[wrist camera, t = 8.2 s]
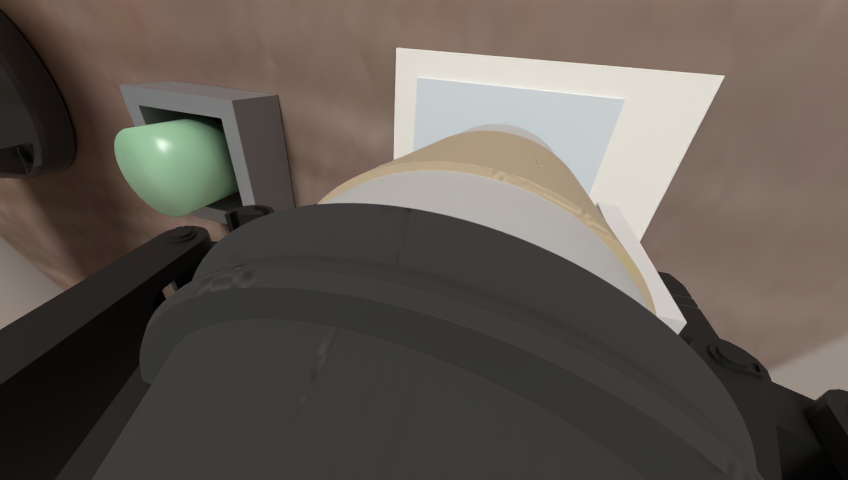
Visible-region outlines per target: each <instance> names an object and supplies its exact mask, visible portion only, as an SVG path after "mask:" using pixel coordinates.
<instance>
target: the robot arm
mask: <svg viewBox="0 0 848 480" xmlns="http://www.w3.org/2000/svg"><path fill="white" fill-rule="evenodd" d="M74 153H75V141H74V134H73V129H72V126H71V122H70V119H69V116H68V113H67V111H66V108H65V106H64V103H63V101H62V99H61V97H60V94H59V92H58V90H57V88H56V87H55V85H54V83H53V81H52V79H51V77H50V76H49V74H48V72H47V71H46V69H45V67H44V66H43V64H42V63H41V61H40V60H39V58H38V57H37V55H36V54H35V52H34V51H33V50H32V48H31V47H30V46H29V44H28V43H27V42H26V40H25V39H24V38H23V36H22V35H21V34H20V33H19V31H18V30H17V29H16V28H15V27H14V25H13V24H12V23H11V22H10V21H9V20H8V19H7V18H6V17H5V15H4V14H3V13H2V12H1V11H0V178H31V177H37V176H41V175H46V174H50V173H54V172H59V171H62V170H65V169H66V168H68V167H69V166H70V164H71V163H72V161H73V158H74ZM381 166H382V165H381ZM315 205H317V204H315ZM596 208H597V209H598V211H599V212H600V213H601V215H602V216H603V218H604V219H605V221H606V222H607V224H608V225H609V226H610V228H611V229H612V231H613V232H614V234H615V235H616V237H617V238H618V240H619V241H620V242H621V244H622V245H623V247H624V248H625V250H626V251H627V253H628V254H629V256H630V257H631V258H632V260H633V261H634V263H635V264H636V266H637V268H638V269H639V271H640V272H641V274H642V276H643V278H644V280H645V282H646V284H647V286H648V289H649V291H650V294H651V296H652V299H653V303H654V306H655V310H656V315H657V317H658V318H659V319H660V320H662V321H663V322H664V323H665V324H666V325H668V326H669V327H670V328H671V329H672V330H673V331H674V332H675V333H677V334H678V335H679V336H680V337H681V338H682V339H683V340H684V341H685V342H686V343H687V344H688V345H689V346H690V347H691V348H692V349H693V350H694V351H695V352H696V353H697V354H698V355H699V356H700V357H701V358H702V360H703V361H704V362H705V363H706V364H707V365H708V367H709V368H710V369H711V370H712V371H713V372H714V374H715V375H716V376H717V378H718V379H719V380H720V382H721V383H722V384H723V386H724V387H725V389H726V390H727V392H728V393H729V395H730V396H731V398H732V400H733V401H734V403H735V405H736V406H737V408H738V410H739V412H740V414H741V416H742V418H743V420H744V422H745V425H746V427H747V430H748V432H749V435H750V438H751V441H752V445H753V449H754V453H755V459H756V467H757V471H758V472H759V473H760V475H761V476H762V477H763V479H764V480H848V391H844V390H840V389H838V390H828V391H827V392H826V393H824V394H823V395H822V396H821V397H819V398H818V399H817V400H816V401H815V400H812V399H810V398H808V397H806V396H803V395H801V394H799V393H797V392H794V391H792V390H790V389H787V388H785V387H783V386H781V385H778V384H776V383H774V382H772V381H771V378H770V376H769V373H768V371H767V370H766V369H765V367H764V366H763V365H762V364H761V363H760V362H759V361H758V360H757V359H756V358H754V357H753V356H752V355H750V354H749V353H748V352H746V351H745V350H743V349H741V348H739V347H738V346H736V345H734V344H732V343H730V342H727V341H725V340H722V339H720V338H719V337H718V336H717V334H716V333H715V331H714V330H713V328H712V327H711V325H710V324H709V322H708V321H707V319H706V318H705V316H704V315H703V313H702V312H701V310H700V309H698V306H697V304H696V303H695V301H694V300H693V299H691V296H690V294H689V293H688V291H687V290H686V288H685V287H684V285H683V284H681V283H680V282H679V281H678V280H676V279H675V278H674V277H673V276H671V275H670V274H668V273H663V272H658V271H656V269H655V268H654V266H653V264H652V263H651V261H650V259H649V258H648V256H647V254H646V252H645V251H644V249H643V247H642V246H641V244H640V242H639V241H638V239H637V237H636V236H635V234H634V232H633V231H632V229H631V227H630V225H629V224H628V222H627V220H626V219H625V217H624V215H623V214H622V212H621V210H620V209H619V207H618V206H615V205H609V204H603V203H598V202H597V205H596ZM271 213H275V211H274V210H273V209H272V208H271V207H268V206H265V205H247V206H242V207H238V208H235V209H232V210H230V211H229V212H227V213H226V214H224V215H225V218H226V222H227V225H228V228H229V232H232V231H234V230H235V229H237V228H238V227H240V226H242V225H244V224H246V223H248V222H250V221H252V220H255V219H257V218H259V217H262V216H265V215H268V214H271ZM216 243H218V242H211V239H210V236H209V233H208V231H207V230H206V229H205V228H202V227H198V226H184V227H183V226H182V227H177V228H175V229H172V230H169V231H167V232H164V233H162V234H160V235H158V236H157V237H155V238H153V239H152V240H150V241H148V242H147V243H145V244H143V245H142V246H140V247H138V248H137V249H135V250H133V251H132V252H130V253H128V254H127V255H125V256H123V257H122V258H120V259H118V260H116V261H115V262H113V263H111V264H110V265H108V266H106V267H105V268H103V269H101V270H100V271H98V272H96V273H95V274H93V275H91V276H90V277H88V278H86V279H85V280H83V281H81V282H80V283H78V284H76V285H75V286H73V287H71V288H70V289H68V290H66V291H64V292H63V293H61V294H60V295H58V296H56V297H55V298H53V299H51V300H49V301H48V302H46V303H44V304H43V305H41V306H39V307H38V308H36V309H34V310H33V311H31V312H29V313H28V314H26V315H24V316H23V317H21V318H19V319H18V320H16V321H14V322H12V323H11V324H9V325H7V326H6V327H4V328H2V329H1V330H0V480H92V478H93V477H94V475H95V474H96V472H97V470H98V469H99V467H100V466H101V464H102V462H103V461H104V459H105V458H106V456H107V455H108V453H109V451H110V450H111V448H112V447H113V445H114V443H115V442H116V440H117V439H118V437H119V435H120V434H121V432H122V431H123V429H124V428H125V426H126V424H127V423H128V421H129V420H130V418H131V416H132V415H133V413H134V412H135V410H136V408H137V407H138V405H139V404H140V402H141V401H142V399H143V397H144V396H145V394H146V393H147V391H148V389H149V388H150V386H151V384H149V383H147V382H144V381H142V376H141V372H140V362H139V360H140V349H141V344H142V340H143V337H144V334H145V331H146V327H147V325H148V323H149V320H150V319H151V317H152V315H153V314H154V312H155V311H156V309H157V308H158V307H159V306H160V305H161V304H162V303H163V302H164V301H165V300H166V298H165V296H164V294H163V292H162V289H164V288H165V287H166V286H167V285H169V284H170V283H171V285H172V287H173V289H174V292H176V291H177V290H179V289H180V288H182V287H183V286H184V285H186V284H188V283H189V282H191V281H192V279H193V277H194V274H195V272H196V270H197V268H198V267H199V265H200V263H201V261H202V260H203V258H204V257H205V256H206V254H207V253H208V252H209V251H210V250H211V249H212V247H213V246H214V245H215V244H216Z"/></svg>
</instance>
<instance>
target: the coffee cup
mask: <svg viewBox="0 0 848 480" xmlns="http://www.w3.org/2000/svg"><path fill="white" fill-rule="evenodd" d="M139 362H140V372H141V376H142V381H144V382H147V383H149V384H151V386H150V388H149V389H148V391H147V393H146V394H145V396H144V397H143V399H142V401H141V402H140V404H139V405H138V407H137V408H136V410H135V412H134V413H133V415H132V416H131V418H130V420H129V421H128V423H127V424H126V426H125V428H124V429H123V431H122V432H121V434H120V435H119V437H118V439H117V440H116V442H115V443H114V445H113V447H112V448H111V450H110V451H109V453H108V455H107V456H106V458H105V459H104V461H103V462H102V464H101V466H100V467H99V469H98V470H97V472H96V474H95V475H94V477H93V478H92V480H764V479H763V477H762V476H761V475H760V473H759V472H758V471H757V467H756V459H755V453H754V449H753V445H752V441H751V438H750V435H749V432H748V430H747V427H746V425H745V422H744V420H743V418H742V416H741V414H740V412H739V410H738V408H737V406H736V405H735V403H734V401H733V400H732V398H731V396H730V395H729V393H728V392H727V390H726V389H725V387H724V386H723V384H722V383H721V382H720V380H719V379H718V378H717V376H716V375H715V374H714V372H713V371H712V370H711V369H710V368H709V367H708V365H707V364H706V363H705V362H704V361H703V360H702V358H701V357H700V356H699V355H698V354H697V353H696V352H695V351H694V350H693V349H692V348H691V347H690V346H689V345H688V344H687V343H686V342H685V341H684V340H683V339H682V338H681V337H680V336H679V335H678V334H677V333H675V332H674V331H673V330H672V329H671V328H670V327H669V326H668V325H666V324H665V323H664V322H663V321H662V320H660V319H659V318H658V317H657V315H656V310H655V306H654V303H653V299H652V296H651V294H650V291H649V289H648V286H647V284H646V282H645V280H644V278H643V276H642V274H641V272H640V271H639V269H638V268H637V266H636V264H635V263H634V261H633V260H632V258H631V257H630V256H629V254H628V253H627V251H626V250H625V248H624V247H623V245H622V244H621V242H620V241H619V240H618V238H617V237H616V235H615V234H614V232H613V231H612V229H611V228H610V226H609V225H608V224H607V222H606V221H605V219H604V218H603V216H602V215H601V213H600V212H599V211H598V209H597V208H596V206H595V205H594V203H593V202H592V200H591V199H590V197H589V196H588V195H587V193H586V192H585V190H584V189H583V187H582V186H581V184H580V183H579V181H578V180H577V179H576V177H575V176H574V174H573V173H572V172H571V170H570V169H569V168H568V167H567V166H566V164H565V163H564V162H563V161H562V160H561V159H559V158H558V157H557V156H556V155H555V153H554V152H553V150H552V149H551V148H550V147H549V146H548V145H547V144H546V143H545V142H544V141H543V140H542V139H541V138H539V137H538V136H536V135H535V134H533V133H531V132H530V131H527V130H525V129H523V128H520V127H517V126H513V125H507V124H486V125H480V126H476V127H473V128H470V129H468V130H465V131H463V132H461V133H459V134H456V135H452V136H450V137H447V138H444V139H442V140H439V141H437V142H435V143H432V144H430V145H428V146H426V147H423V148H421V149H419V150H416V151H414V152H412V153H409V154H407V155H405V156H402V157H400V158H398V159H396V160H393V161H391V162H389V163H386V164H384V165H382V166H379V167H377V168H375V169H372V170H370V171H368V172H366V173H363V174H361V175H359V176H356V177H354V178H352V179H350V180H348V181H347V182H345V183H343V184H341V185H340V186H338V187H337V188H335V189H334V190H333V191H331V192H330V193H329V194H328V195H326V196H325V197H324V198H323V199H322V200H321V201H320V202H319V203H318V204H317V205H308V206H301V207H296V208H291V209H286V210H281V211H278V212H275V213H271V214H268V215H265V216H262V217H259V218H257V219H255V220H252V221H250V222H248V223H246V224H244V225H242V226H240V227H238V228H237V229H235V230H234V231H232V232H230V233H229V234H227V235H226V236H225V237H224V238H222V239H221V240H220V241H219V242H218V243H216V244H215V245H214V246H213V247H212V249H211V250H210V251H209V252H208V253H207V254H206V256H205V257H204V258H203V260H202V261H201V263H200V265H199V267H198V268H197V270H196V272H195V274H194V277H193V279H192V281H191V282H189V283H188V284H186V285H184V286H183V287H182V288H180V289H179V290H177V291H176V292H175V293H174V294H172V295H171V296H170V297H169V298H167V299H166V300H165V301H164V302H163V303H162V304H161V305H160V306H159V307H158V308H157V309H156V311H155V312H154V314H153V315H152V317H151V319H150V320H149V323H148V325H147V327H146V331H145V334H144V337H143V340H142V344H141V349H140V360H139Z"/></svg>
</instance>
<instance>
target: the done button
mask: <svg viewBox="0 0 848 480" xmlns="http://www.w3.org/2000/svg"><path fill="white" fill-rule="evenodd" d="M114 150H115V156H116V160H117V163H118V165H119V168H120V170H121V172H122V174H123V176H124V177H125V179H126V181H127V182H128V184H129V185H130V186H131V188H132V189H133V190H134V191H135V193H136V194H137V195H138V196H139V197H140V198H141V199H142V200H143V201H144V202H145V203H147V204H148V205H149V206H150V207H152V208H153V209H155V210H156V211H158V212H160V213H162V214H164V215H167V216H171V217H181V216H183V215H186V214H188V213H190V212H193V211H195V210H197V209H199V208H202V207H204V206H206V205H209V204H211V203H213V202H215V201H218V200H220V199H222V198H225V197H227V196H229V195H231V194H234V193H236V192H238V191H239V188H238V184H237V180H236V176H235V172H234V168H233V164H232V160H231V156H230V152H229V148H228V144H227V140H226V136H225V132H224V128H223V126H222V125H221V124H219V123H218V122H216V121H214V120H212V119H210V118H206V117H194V118H188V119H181V120H175V121H169V122H163V123H157V124H150V125H144V126H138V127H132V128H126V129H123V130H121V131H120V132H119V133H118V134H117V136H116V138H115V142H114Z"/></svg>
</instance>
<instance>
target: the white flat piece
mask: <svg viewBox="0 0 848 480" xmlns="http://www.w3.org/2000/svg"><path fill="white" fill-rule="evenodd" d="M724 77H725V76H721V75H709V74H697V73H686V72H674V71H662V70H651V69H639V68H627V67H616V66H604V65H592V64H581V63H569V62H557V61H546V60H534V59H522V58H511V57H499V56H487V55H476V54H464V53H452V52H441V51H429V50H417V49H406V48H396V84H395V125H394V160H396V159H398V158H400V157H402V156H405V155H407V154H409V153H412V152H414V151H416V150H419V149H421V148H423V147H426V146H428V145H430V144H432V143H435V142H437V141H439V140H442V139H444V138H447V137H450V136H452V135H456V134H459V133H461V132H463V131H465V130H468V129H470V128H473V127H476V126H480V125H486V124H507V125H513V126H517V127H520V128H523V129H525V130H527V131H530V132H531V133H533V134H535V135H536V136H538V137H539V138H541V139H542V140H543V141H544V142H545V143H546V144H547V145H548V146H549V147H550V148H551V149H552V150H553V152H554V153H555V155H556V156H557V157H558V158H559V159H561V160H562V161H563V162H564V163H565V164H566V166H567V167H568V168H569V169H570V170H571V172H572V173H573V174H574V176H575V177H576V179H577V180H578V181H579V183H580V184H581V186H582V187H583V189H584V190H585V192H586V193H587V195H588V196H589V197H590V199H591V200H592V202H593V203H594V205H595V206H596V205H597V202H598V203H603V204H609V205H615V206H618V207H619V209H620V210H621V212H622V214H623V215H624V217H625V219H626V220H627V222H628V224H629V225H630V227H631V229H632V231H633V232H634V234H635V236H636V237H637V239H638V241H639V242H640V240H641V238H642V236H643V234H644V232H645V230H646V228H647V227H648V225H649V223H650V221H651V219H652V217H653V215H654V213H655V211H656V209H657V207H658V205H659V203H660V201H661V199H662V197H663V195H664V193H665V191H666V190H667V188H668V186H669V184H670V182H671V180H672V178H673V176H674V174H675V172H676V170H677V168H678V166H679V164H680V162H681V160H682V158H683V156H684V155H685V153H686V151H687V149H688V147H689V145H690V143H691V141H692V139H693V137H694V135H695V133H696V131H697V129H698V127H699V125H700V123H701V121H702V119H703V118H704V116H705V114H706V112H707V110H708V108H709V106H710V104H711V102H712V100H713V98H714V96H715V94H716V92H717V90H718V88H719V86H720V84H721V82H722V81H723V79H724Z"/></svg>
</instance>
